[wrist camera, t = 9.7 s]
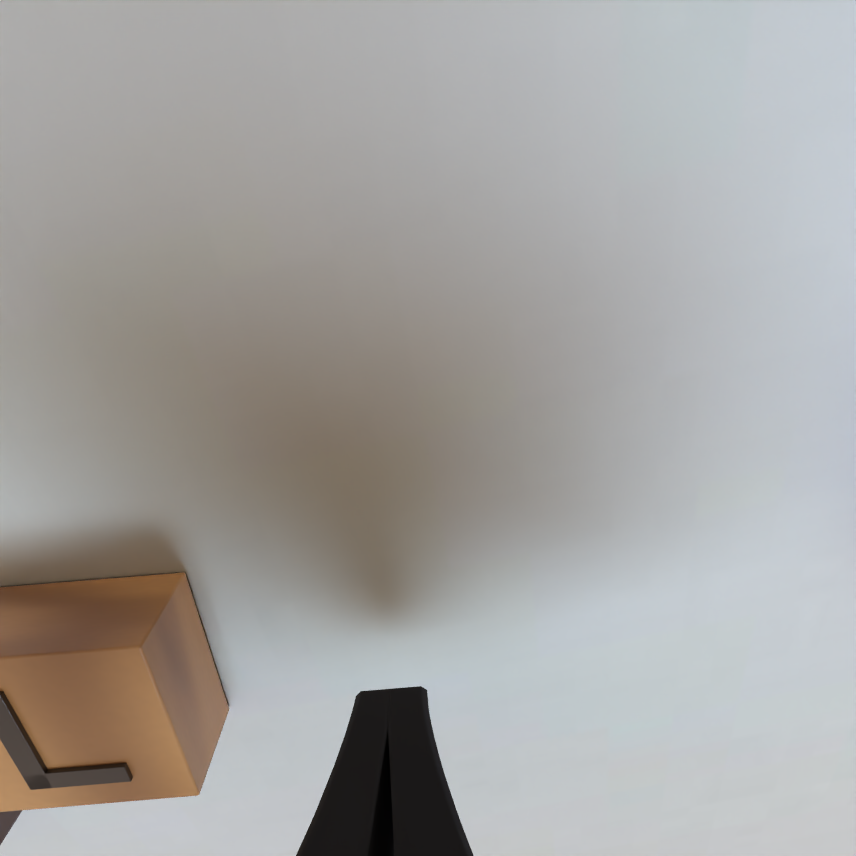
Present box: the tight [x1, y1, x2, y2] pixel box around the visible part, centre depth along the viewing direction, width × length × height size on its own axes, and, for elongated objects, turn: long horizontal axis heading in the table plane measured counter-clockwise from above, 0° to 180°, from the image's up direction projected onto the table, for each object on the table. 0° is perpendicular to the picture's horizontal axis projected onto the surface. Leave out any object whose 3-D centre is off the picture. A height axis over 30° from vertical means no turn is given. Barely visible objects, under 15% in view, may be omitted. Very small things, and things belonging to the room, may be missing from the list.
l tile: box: [0, 573, 229, 812], centre depth 12 cm, size 5×5×2 cm
